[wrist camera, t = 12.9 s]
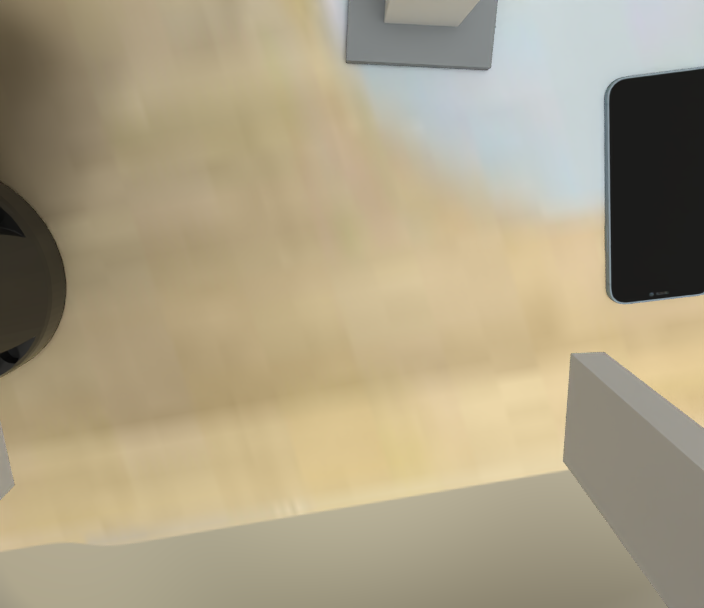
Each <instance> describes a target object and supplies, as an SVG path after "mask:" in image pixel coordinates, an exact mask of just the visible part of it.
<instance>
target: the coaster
mask: <svg viewBox="0 0 704 608" xmlns="http://www.w3.org/2000/svg"><path fill="white" fill-rule="evenodd" d="M497 3H498V0H480V1H479V2H478V3H477V4H476V5H475V7H474V8H473V9H472V10H471V11H470V13H469V14H468V15H467V16H466V17H465V19H464V20H463V21H462V22H461V23H460V25H459V26H458V27H454V26H435V25H416V24H396V23H384V17H385V0H349V4H348V29H347V53H346V63H357V64H376V65H396V66H416V67H435V68H455V69H474V70H488V69H490V68H491V61H492V52H493V42H494V32H495V23H496V13H497Z"/></svg>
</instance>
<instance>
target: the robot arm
mask: <svg viewBox="0 0 704 608" xmlns="http://www.w3.org/2000/svg"><path fill="white" fill-rule="evenodd" d="M64 303H65V275H64V269H63V264H62V261H61V257H60V254H59V251H58V248H57V246H56V244H55V242H54V239H53V238H52V236H51V234H50V232H49V230H48V229H47V227H46V225H45V224H44V222H43V221H42V220H41V218H40V217H39V216H38V214H37V213H36V212H35V211H34V210H33V209H32V208H31V206H30V205H29V204H28V203H27V202H26V201H25V200H23V199H22V198H21V197H20V196H19V195H18V194H17V193H15V192H14V191H13V190H11V189H10V188H9V187H7V186H6V185H4V184H3V183H1V182H0V378H1V377H3V376H5V375H7V374H8V373H10V372H12V371H13V370H15V369H17V368H18V367H20V366H21V365H23V364H24V363H26V362H28V361H29V360H30V359H32V358H33V357H34V356H36V355H37V354H38V353H39V352H40V351H41V350H42V349H43V348H44V347H45V346H46V344H47V343H48V342H49V340H50V339H51V338H52V336H53V334H54V333H55V331H56V329H57V327H58V324H59V322H60V319H61V316H62V312H63V308H64ZM563 462H564V463H565V464H566V466H567V467H568V469H569V470H570V471H571V473H572V474H573V476H574V477H575V478H576V480H577V481H578V483H579V484H580V485H581V487H582V488H583V489H584V491H585V492H586V493H587V495H588V497H589V498H590V499H591V501H592V502H593V503H594V505H595V506H596V508H597V509H598V510H599V512H600V513H601V515H602V516H603V517H604V519H605V520H606V522H607V523H608V524H609V526H610V527H611V528H612V530H613V531H614V533H615V534H616V536H617V537H618V538H619V540H620V541H621V542H622V544H623V545H624V547H625V548H626V550H627V551H628V552H629V554H630V555H631V557H632V558H633V559H634V561H635V562H636V563H637V565H638V566H639V568H640V569H641V570H642V572H643V573H644V574H645V576H646V577H647V579H648V580H649V582H650V583H651V584H652V586H653V587H654V589H655V590H656V591H657V593H658V594H659V596H660V597H661V598H662V600H663V601H664V602H665V604H666V605H667V607H668V608H704V428H703V427H701V426H700V425H699V424H697V423H696V422H695V421H694V420H692V419H691V418H690V417H688V416H687V415H686V414H684V413H683V412H682V411H680V410H679V409H678V408H677V407H675V406H674V405H673V404H671V403H670V402H669V401H667V400H666V399H665V398H664V397H662V396H661V395H660V394H658V393H657V392H656V391H654V390H653V389H652V388H650V387H649V386H648V385H647V384H645V383H644V382H643V381H641V380H640V379H639V378H637V377H636V376H635V375H634V374H632V373H631V372H630V371H628V370H627V369H626V368H624V367H623V366H622V365H620V364H619V363H618V362H617V361H615V360H614V359H613V358H611V357H610V356H609V355H607V354H606V353H605V352H593V353H571V357H570V371H569V385H568V399H567V413H566V426H565V440H564V454H563ZM14 485H15V484H14V480H13V475H12V471H11V467H10V462H9V458H8V453H7V449H6V444H5V440H4V435H3V431H2V426H1V422H0V500H1V499H2V498H3V497H4V496H5V495H6V494H7V493H8V492H9V491H10V489H11V488H12V487H13V486H14Z"/></svg>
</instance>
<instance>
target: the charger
mask: <svg viewBox="0 0 704 608" xmlns="http://www.w3.org/2000/svg"><path fill="white" fill-rule="evenodd" d="M479 1H480V0H385V17H384V23H396V24H416V25H435V26H454V27H458V26H459V25H460V23H461V22H462V21H463V20H464V19H465V17H466V16H467V15H468V14H469V13H470V11H471V10H472V9H473V8H474V7H475V5H476V4H477V3H478V2H479Z"/></svg>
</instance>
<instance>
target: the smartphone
mask: <svg viewBox="0 0 704 608" xmlns="http://www.w3.org/2000/svg"><path fill="white" fill-rule="evenodd" d="M604 116H605V251H606V292H607V295H608V296H609V298H610V299H612V300H613V301H615V302H617V303H620V304H632V303H640V302H649V301H657V300H666V299H674V298H683V297H691V296H699V295H703V294H704V67H697V68H690V69H682V70H674V71H667V72H659V73H651V74H644V75H636V76H628V77H623V78H620V79H617V80H615V81H613V82H612V83H611V84H610V85H609V87H608V88H607V90H606V93H605V99H604Z"/></svg>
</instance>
